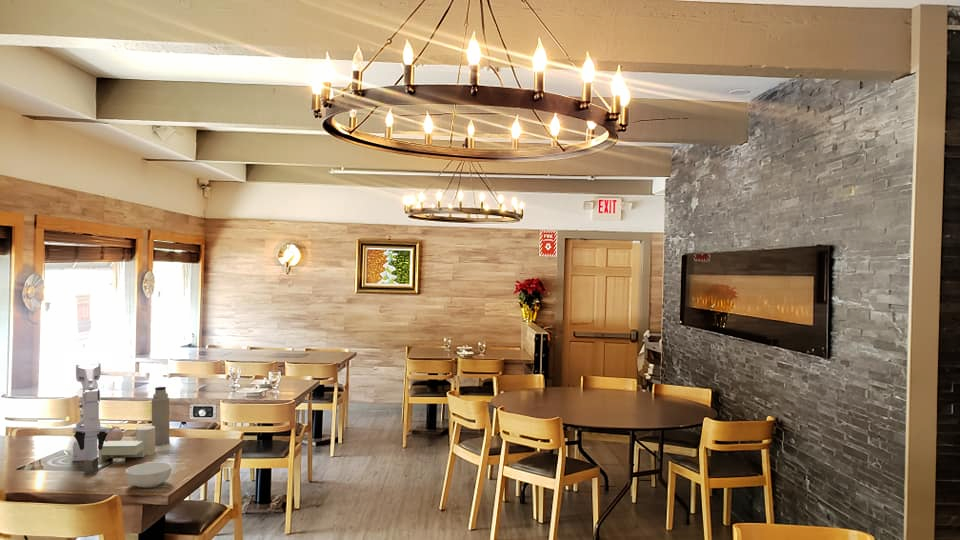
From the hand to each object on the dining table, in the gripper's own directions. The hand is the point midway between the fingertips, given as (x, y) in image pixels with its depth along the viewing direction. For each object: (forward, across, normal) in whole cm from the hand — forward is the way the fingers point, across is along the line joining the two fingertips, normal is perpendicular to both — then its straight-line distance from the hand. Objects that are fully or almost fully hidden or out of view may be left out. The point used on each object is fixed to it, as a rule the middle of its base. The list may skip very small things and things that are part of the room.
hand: (91, 449), depth 303 cm
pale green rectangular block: (+10, +4, +19) cm, 22 cm away
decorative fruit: (+10, -10, +44) cm, 47 cm away
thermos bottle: (+10, +10, +48) cm, 51 cm away
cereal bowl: (+10, +31, -19) cm, 38 cm away
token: (+10, +5, +15) cm, 19 cm away
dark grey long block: (+10, 0, +5) cm, 11 cm away
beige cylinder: (+10, +10, +30) cm, 34 cm away
